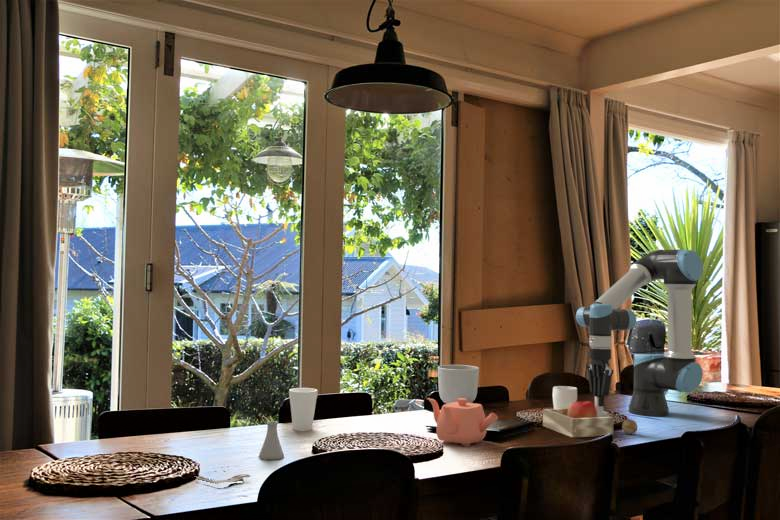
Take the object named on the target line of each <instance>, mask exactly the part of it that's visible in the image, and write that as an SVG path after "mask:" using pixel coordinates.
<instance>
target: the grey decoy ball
mask: <svg viewBox="0 0 780 520" xmlns="http://www.w3.org/2000/svg"><path fill="white" fill-rule="evenodd" d="M597 417H611V414H610V413H609V412H608V411H605V410H604V413H603V415H602V416H597Z"/></svg>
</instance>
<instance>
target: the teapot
mask: <svg viewBox="0 0 780 520" xmlns="http://www.w3.org/2000/svg"><path fill="white" fill-rule="evenodd" d="M426 400H428V401H429V402H430V403H431V406H432V409H433V410H432V411H433V418H434V422H435V423H436V431H435V433H436V436H437V438H438V440H440V441H443V444H452V443H455V444H461V446H462V447H471V444H478V443H480V442H481V441H483V439H485V437H486V434H487V431H488V430H487V429H488V428H489V427H491V425H493V424H494V423H496V421H497V420H498V419H499V418H498V415H497V414H496V413H495V412H491V413H490V414H489V415H488V416H487V417H486V414H485V412H484V407H483V405H482V404H481V403H476V402H475V403H474V402H472V403H467V400H468V399H465V398H458V399H457V401H458V402H452V403H447V404H446V403H444V404H443V405H442V406H441V409H440V406H439V403H438V402H437V400H435V399H434V398H430V397H427V398H426Z"/></svg>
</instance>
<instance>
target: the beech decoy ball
mask: <svg viewBox="0 0 780 520" xmlns="http://www.w3.org/2000/svg"><path fill="white" fill-rule="evenodd" d="M621 428H622V430H623V432H624V433H625V434H627V435H634V434H636V432H637V431H638V428H639V427H638V424H637V422H636V421H635V420H634V419H632V418H631V419H630V418H628V419H626V420H624V421H623V423H622V425H621Z"/></svg>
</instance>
